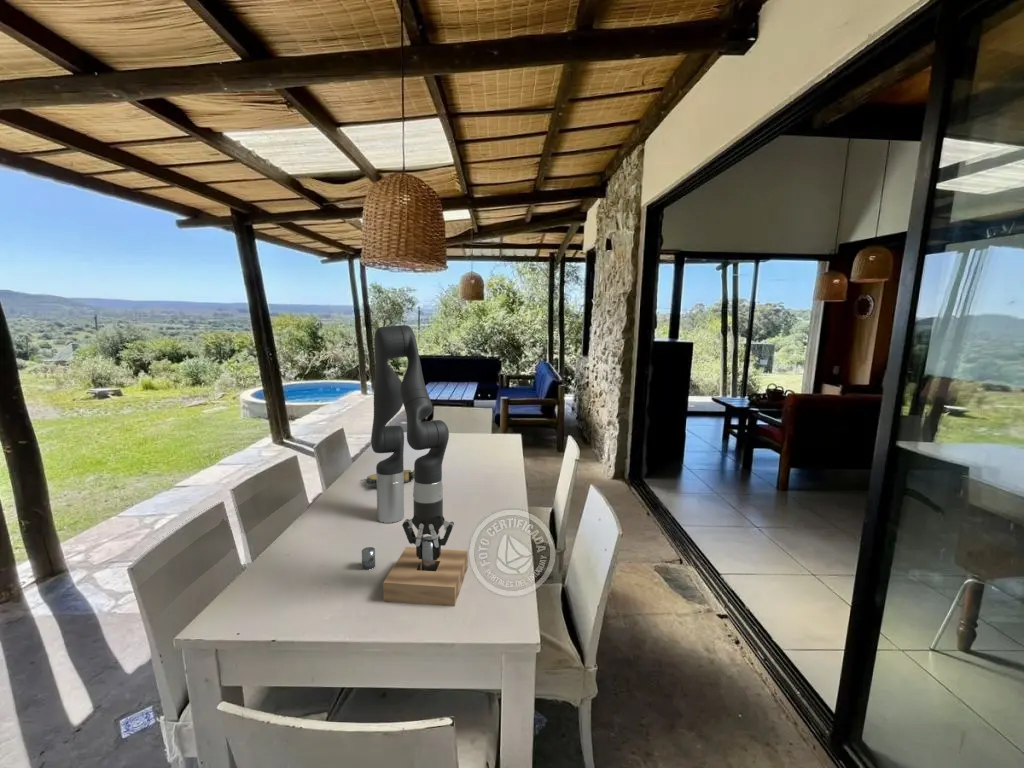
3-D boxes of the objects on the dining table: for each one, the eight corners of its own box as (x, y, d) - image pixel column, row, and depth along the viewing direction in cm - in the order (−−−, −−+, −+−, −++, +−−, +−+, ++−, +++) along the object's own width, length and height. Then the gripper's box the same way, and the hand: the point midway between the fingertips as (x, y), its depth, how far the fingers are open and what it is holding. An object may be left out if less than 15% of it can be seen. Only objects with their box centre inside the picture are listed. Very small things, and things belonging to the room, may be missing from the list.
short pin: (365, 563, 130) (364, 546, 129) (377, 563, 129) (376, 547, 129) (359, 569, 126) (359, 553, 126) (372, 570, 126) (372, 553, 125)
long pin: (423, 573, 122) (423, 535, 121) (436, 574, 122) (436, 536, 120) (420, 581, 119) (419, 542, 117) (433, 582, 118) (433, 542, 117)
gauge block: (406, 563, 130) (406, 547, 129) (467, 567, 129) (468, 550, 128) (383, 601, 112) (383, 582, 112) (454, 606, 111) (454, 587, 110)
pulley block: (436, 467, 197) (365, 478, 182) (437, 480, 197) (366, 492, 182) (425, 463, 209) (358, 473, 194) (426, 475, 209) (359, 486, 194)
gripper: (457, 492, 120) (457, 552, 123) (406, 489, 121) (406, 549, 124) (451, 503, 113) (451, 567, 115) (396, 500, 114) (397, 564, 116)
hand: (428, 557), depth 119 cm, fingers closed on long pin, 3 cm apart
